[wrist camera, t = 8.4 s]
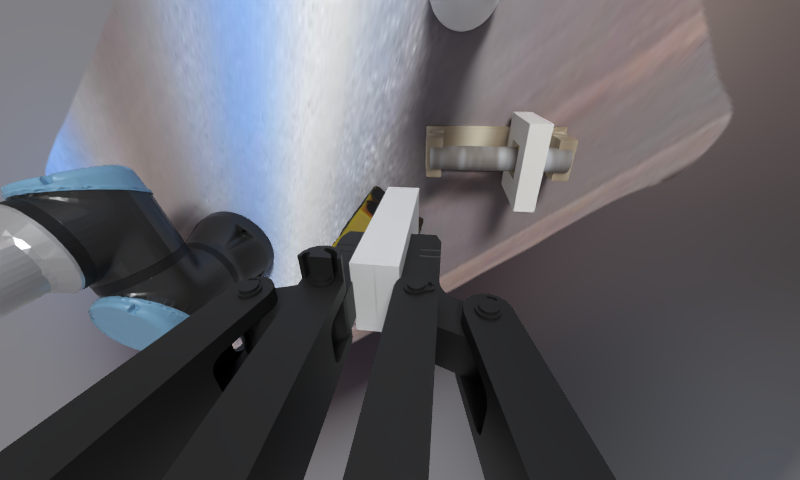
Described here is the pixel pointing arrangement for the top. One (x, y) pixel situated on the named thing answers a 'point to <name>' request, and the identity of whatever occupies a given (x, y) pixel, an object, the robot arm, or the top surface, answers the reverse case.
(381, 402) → the robot arm
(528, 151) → the upright white plank
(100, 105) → the top surface
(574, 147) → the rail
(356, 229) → the yellow cube with hole
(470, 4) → the bottle
